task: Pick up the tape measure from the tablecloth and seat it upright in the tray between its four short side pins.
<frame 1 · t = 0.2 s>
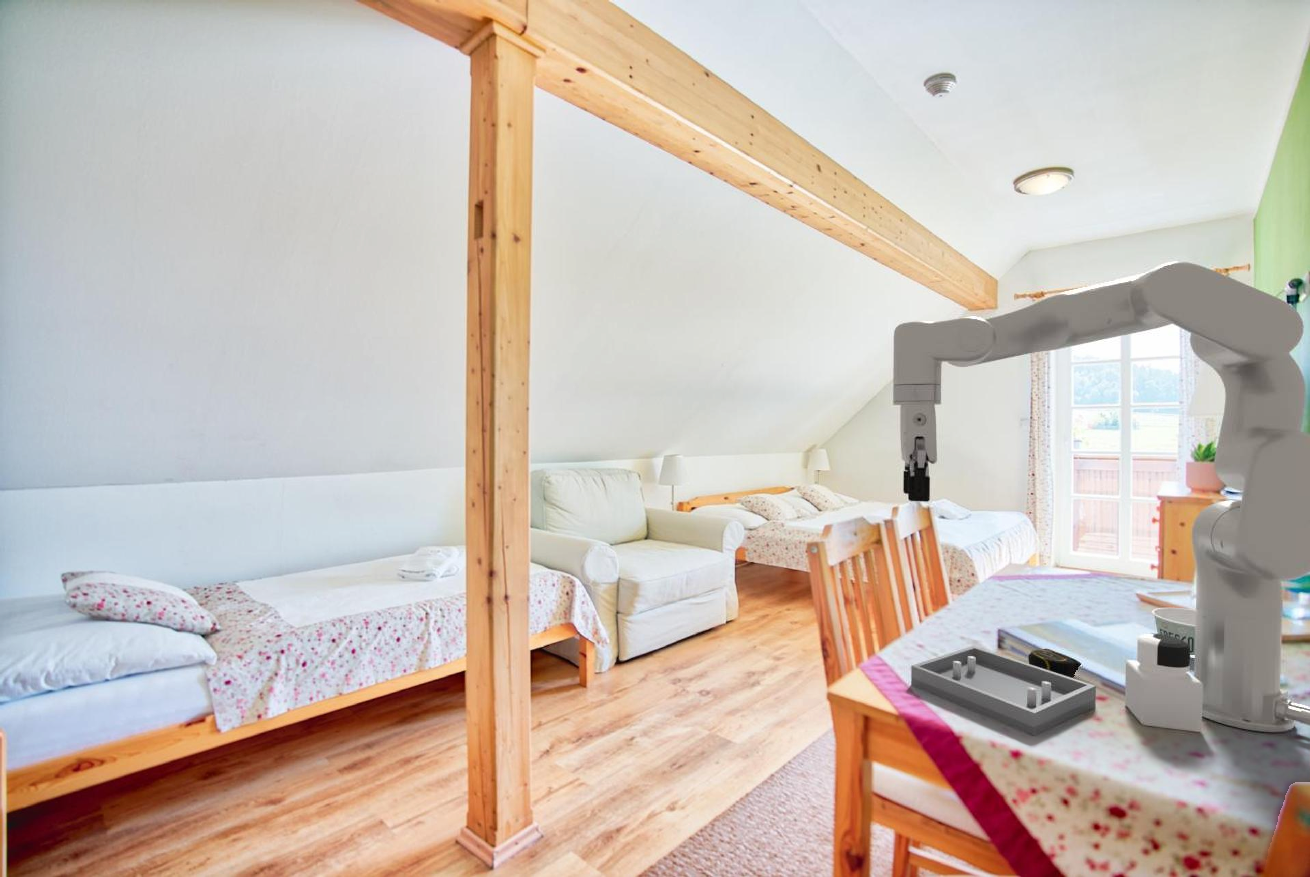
hand: (915, 497, 110), 31 cm above the table, fingers open, 9 cm apart
food container: (1191, 652, 121), on the table
tape measure: (1052, 676, 111), on the table
pin tray: (999, 695, 103), on the table
medicine bottle: (1161, 719, 95), on the table
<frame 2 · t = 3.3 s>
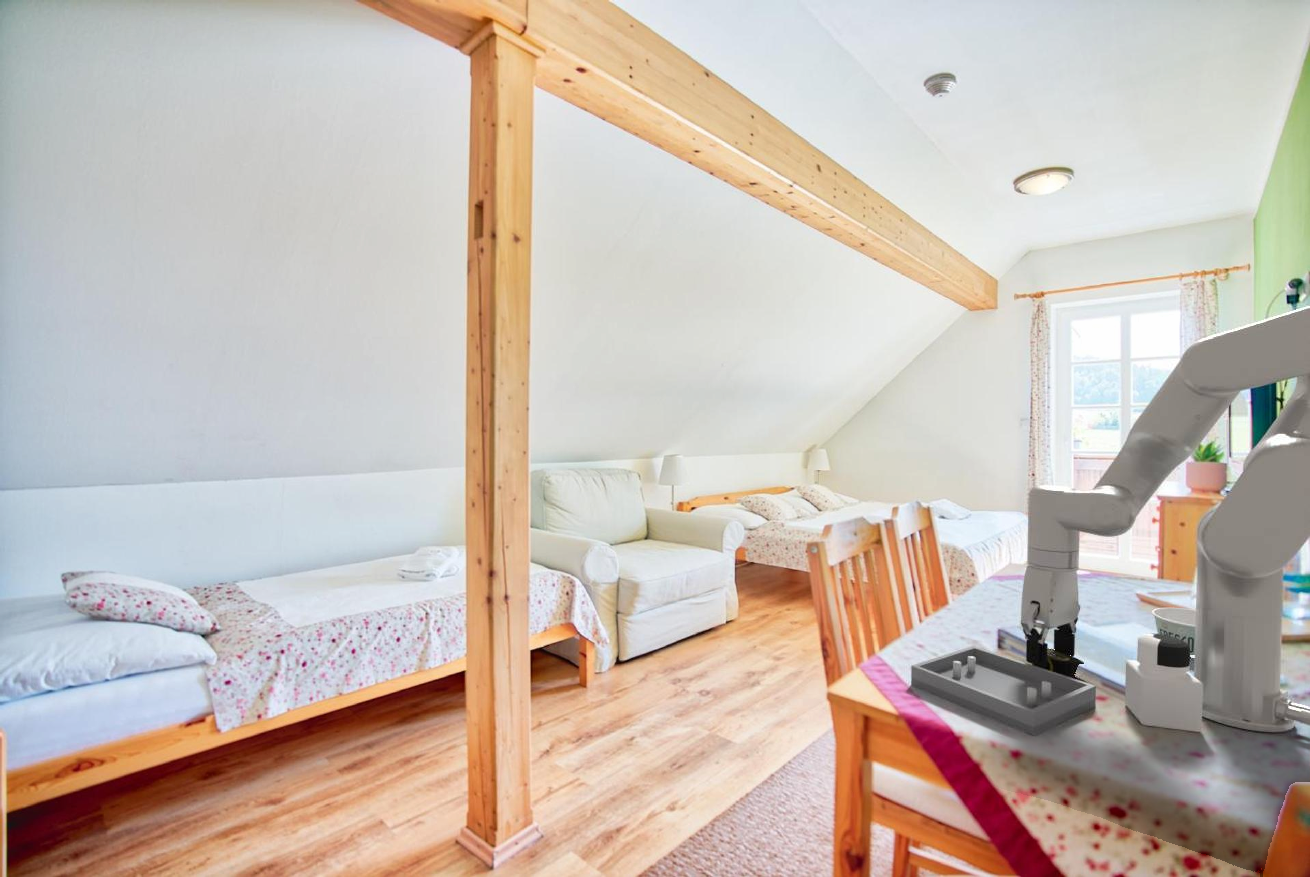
hand: (1050, 658, 111), 3 cm above the table, fingers open, 8 cm apart
tape measure: (1055, 675, 111), on the table, touching gripper
everything else where it was.
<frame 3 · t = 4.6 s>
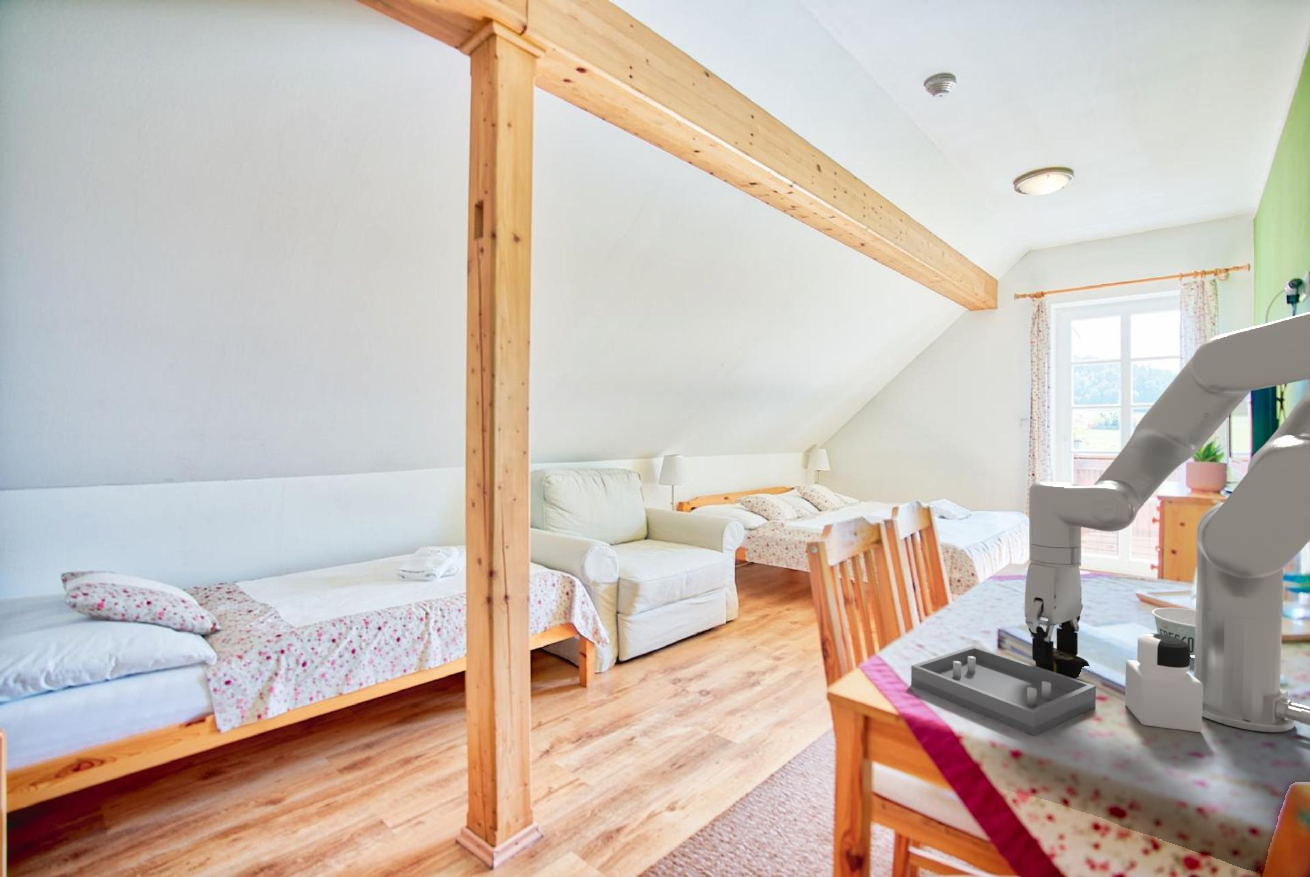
hand: (1055, 657, 111), 3 cm above the table, fingers closed on tape measure, 7 cm apart
tape measure: (1059, 675, 111), on the table, touching gripper
everything else where it was.
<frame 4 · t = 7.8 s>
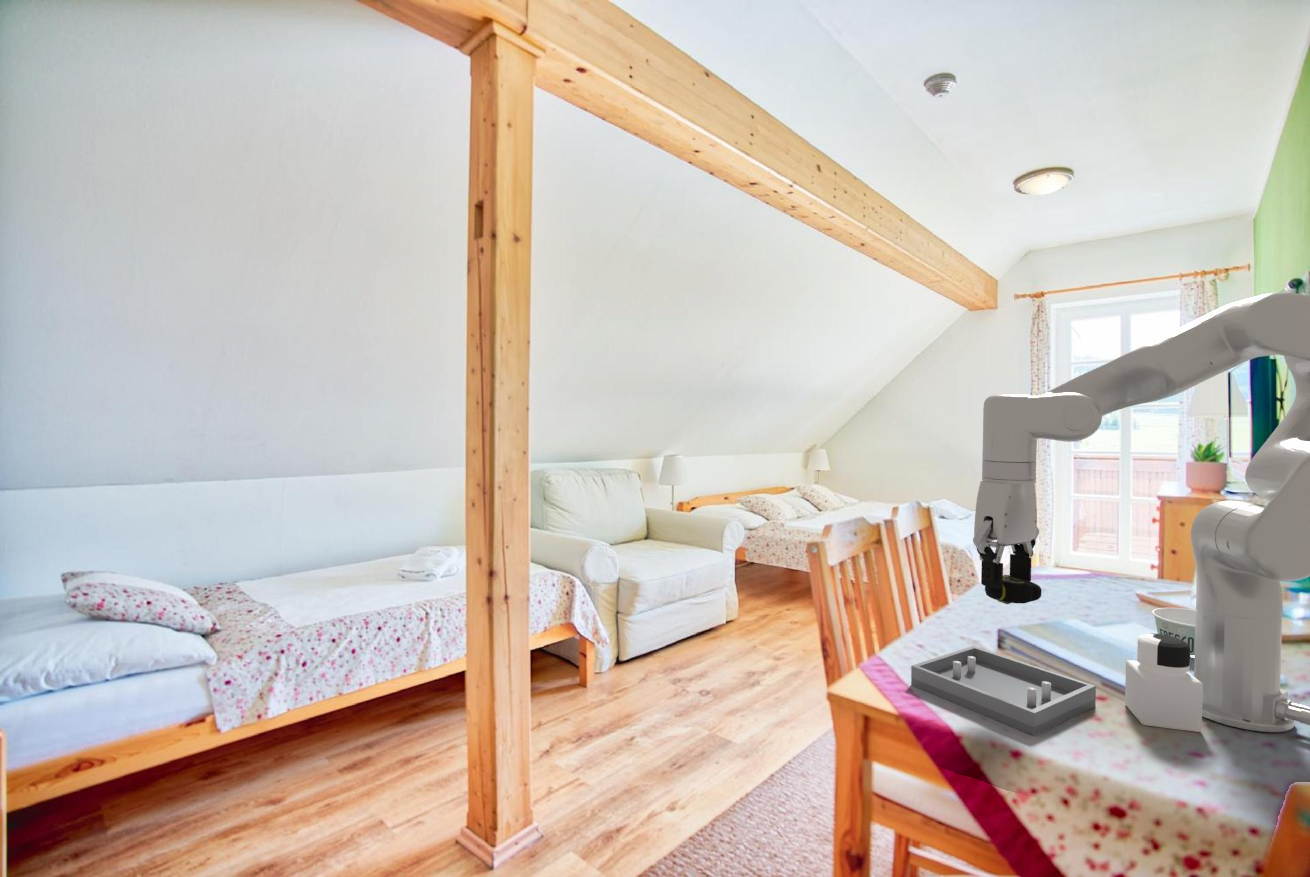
hand: (1006, 582, 103), 18 cm above the table, fingers closed on tape measure, 6 cm apart
tape measure: (1010, 602, 103), point 15 cm above the table, touching gripper
everything else where it was.
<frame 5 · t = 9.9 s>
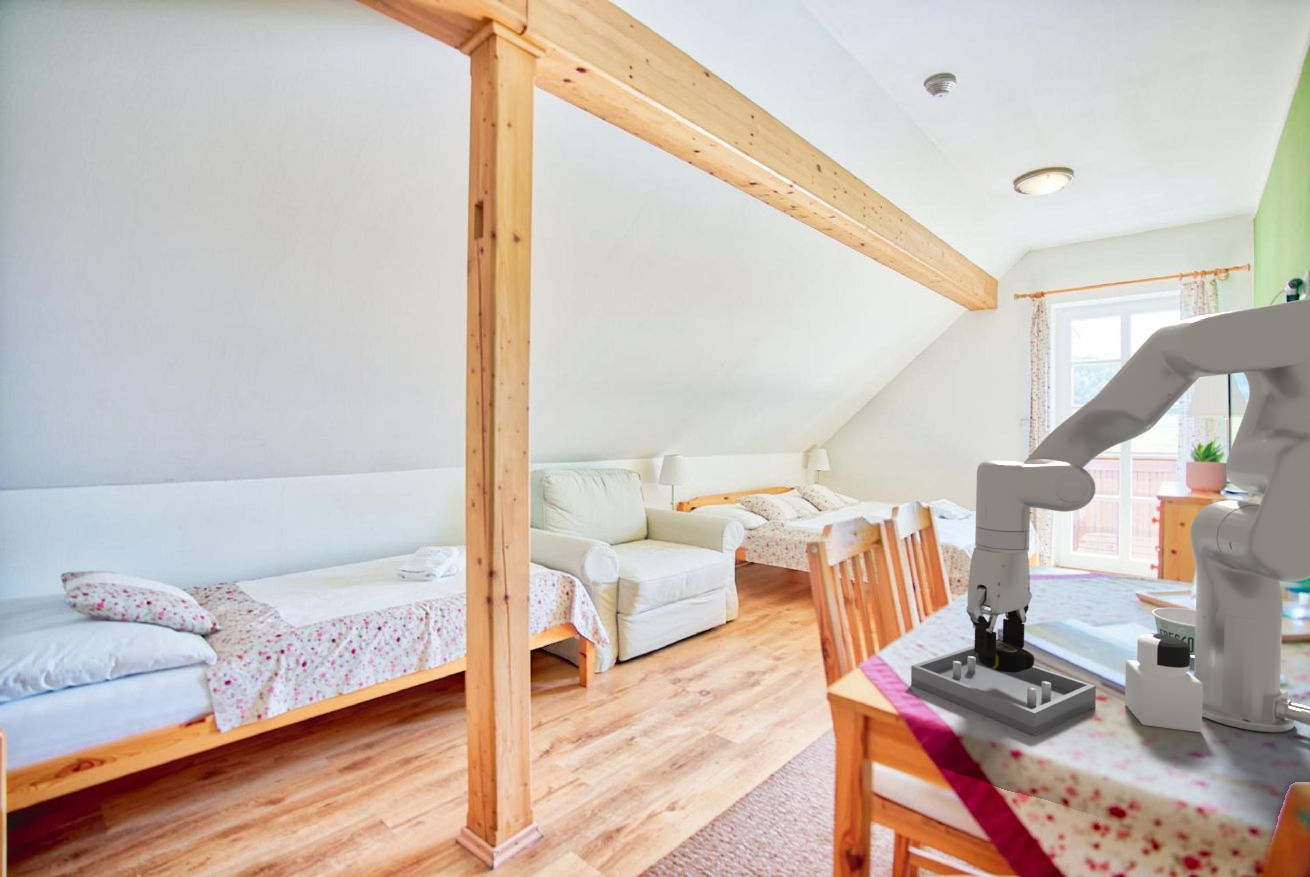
hand: (999, 649, 103), 7 cm above the table, fingers closed on tape measure, 7 cm apart
tape measure: (1003, 668, 103), point 4 cm above the table, touching gripper
everything else where it was.
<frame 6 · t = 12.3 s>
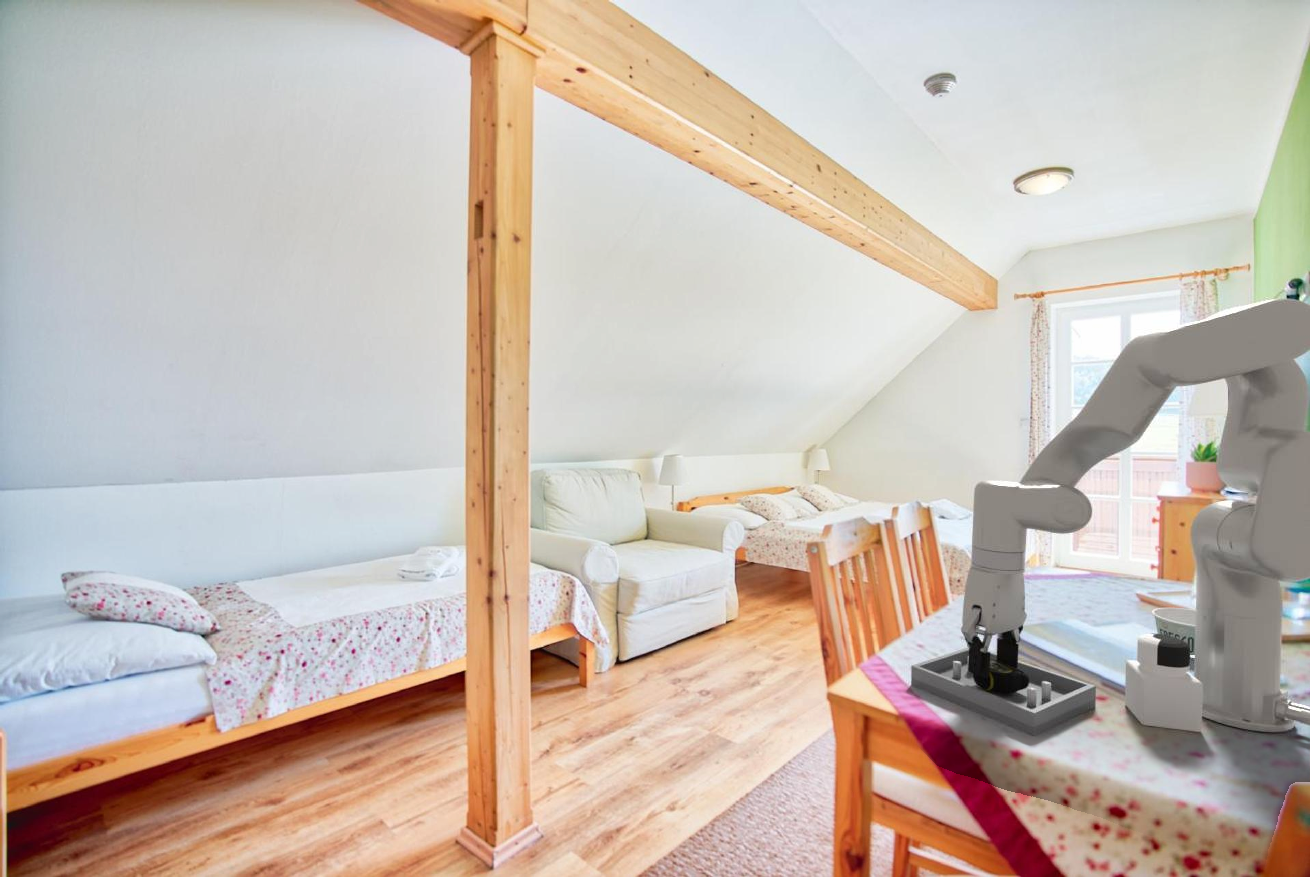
hand: (993, 669, 103), 4 cm above the table, fingers closed on tape measure, 7 cm apart
tape measure: (998, 689, 103), point 1 cm above the table, touching gripper, pin tray
everything else where it was.
when the fingers open (4 cm above the table, at t = 12.5 s): tape measure stays where it is, resting on pin tray.
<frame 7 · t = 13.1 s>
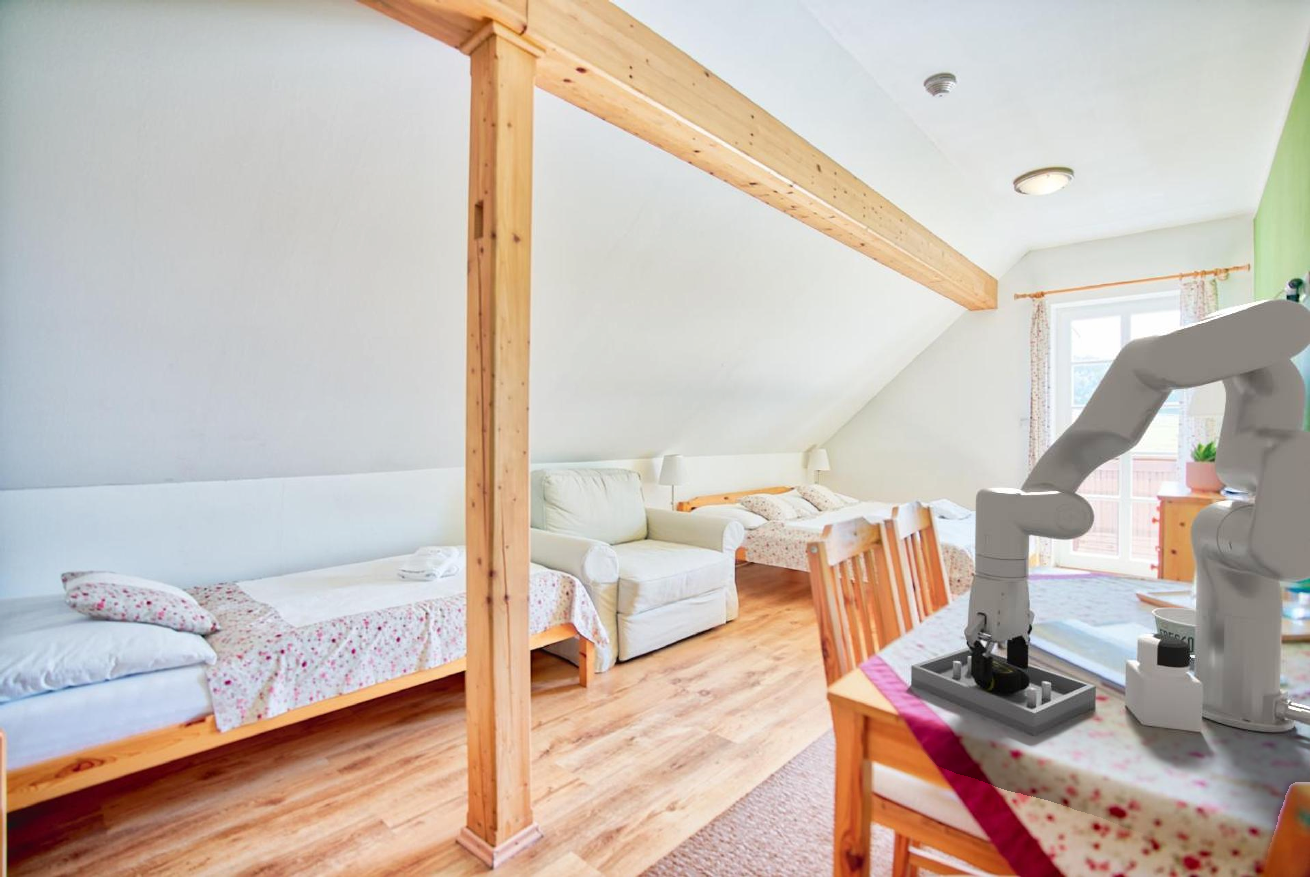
hand: (999, 672, 103), 4 cm above the table, fingers open, 9 cm apart
tape measure: (998, 689, 103), point 1 cm above the table, touching pin tray
everything else where it was.
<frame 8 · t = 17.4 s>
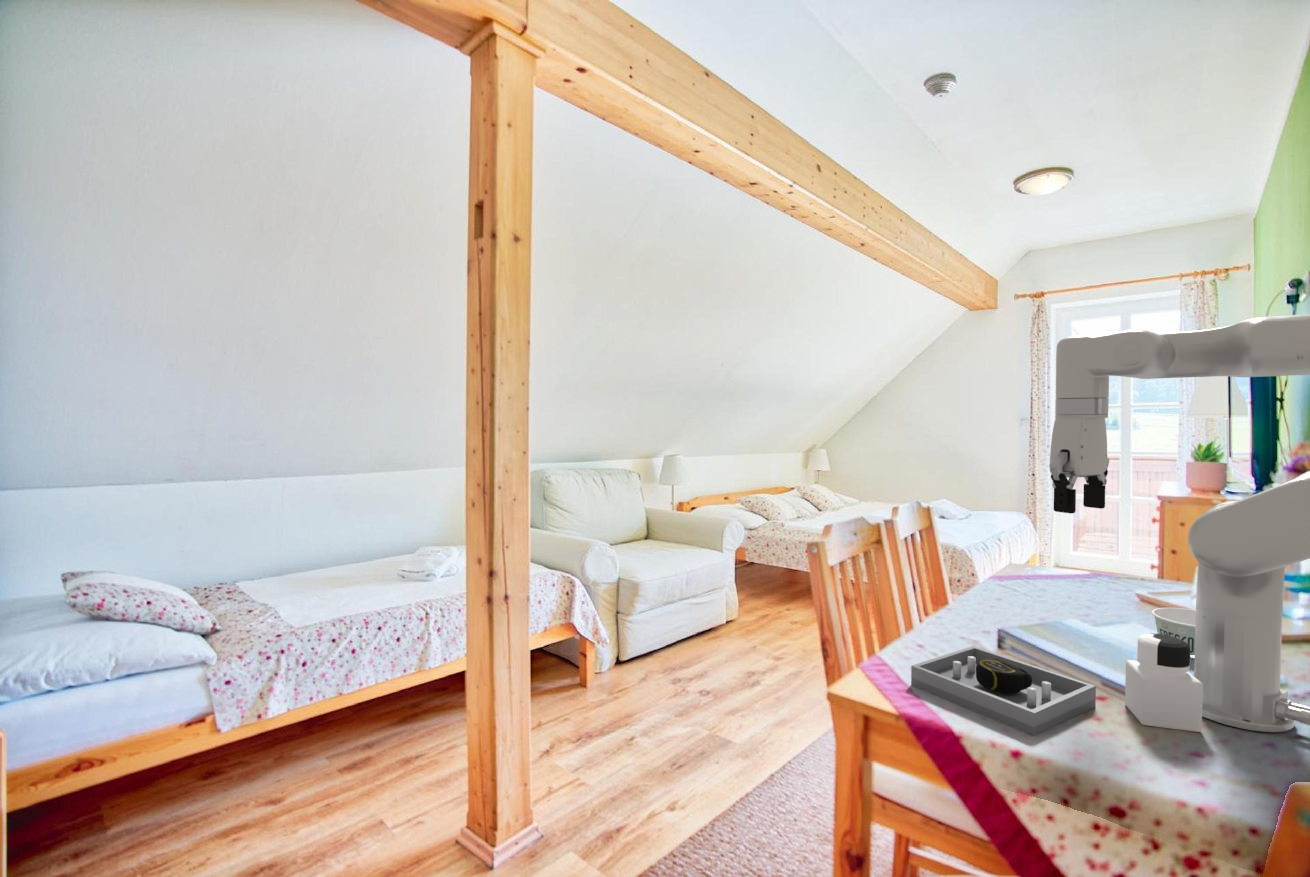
hand: (1079, 509, 110), 28 cm above the table, fingers open, 9 cm apart
nothing on the table moved.
at the end: tape measure 0.3 cm off-centre on the pin tray, point 1.0 cm above the pin tray's base; tape measure tilted 1°; the gripper is holding nothing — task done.
